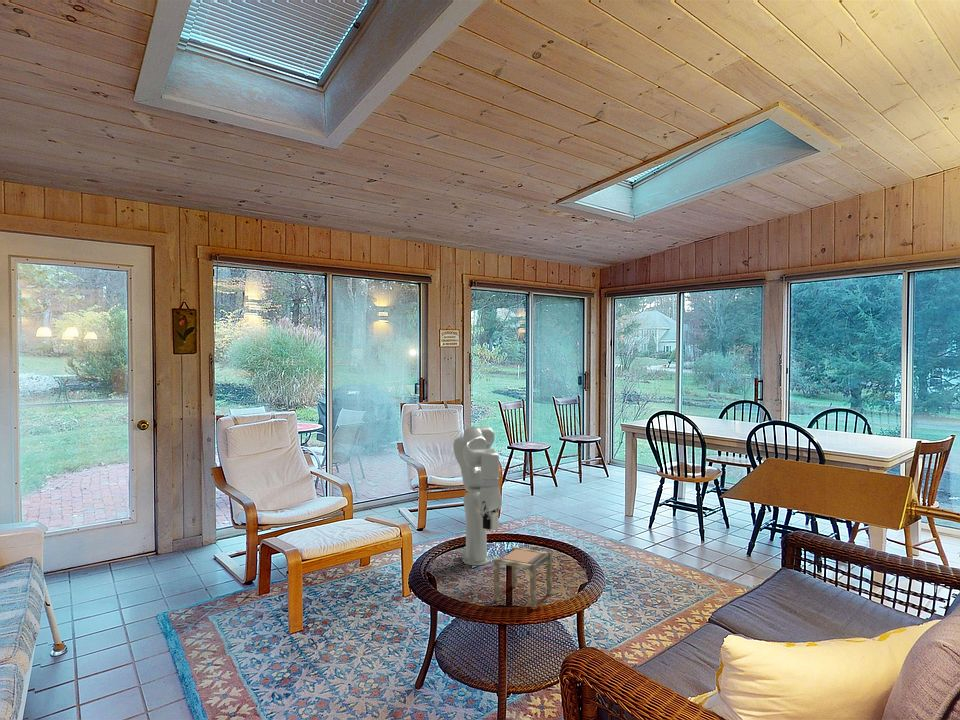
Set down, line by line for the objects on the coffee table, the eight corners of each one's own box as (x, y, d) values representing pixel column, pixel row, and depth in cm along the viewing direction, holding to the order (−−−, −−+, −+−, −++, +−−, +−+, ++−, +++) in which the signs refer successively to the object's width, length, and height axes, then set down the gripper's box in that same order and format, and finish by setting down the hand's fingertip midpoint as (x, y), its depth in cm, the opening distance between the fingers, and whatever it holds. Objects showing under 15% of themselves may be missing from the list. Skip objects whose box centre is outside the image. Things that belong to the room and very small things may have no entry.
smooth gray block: (481, 528, 217) (481, 514, 217) (487, 525, 222) (487, 511, 222) (492, 530, 215) (492, 515, 215) (498, 527, 219) (498, 512, 219)
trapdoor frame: (493, 600, 199) (493, 558, 199) (513, 585, 213) (513, 546, 214) (534, 610, 191) (534, 566, 191) (552, 593, 205) (551, 553, 205)
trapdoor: (501, 560, 200) (501, 557, 200) (515, 551, 211) (515, 548, 211) (530, 566, 194) (530, 562, 194) (543, 556, 205) (543, 553, 205)
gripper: (491, 477, 228) (492, 520, 227) (471, 485, 213) (471, 531, 213) (507, 479, 224) (507, 522, 224) (487, 487, 209) (488, 534, 209)
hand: (490, 526), depth 218 cm, fingers closed on smooth gray block, 5 cm apart
